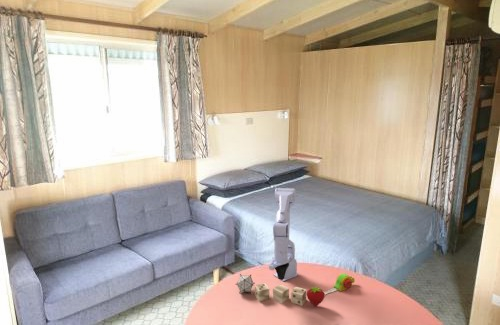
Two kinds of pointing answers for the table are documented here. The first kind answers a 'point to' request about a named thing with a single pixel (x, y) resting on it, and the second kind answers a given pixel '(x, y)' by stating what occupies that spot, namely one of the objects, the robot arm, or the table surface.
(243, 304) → the table surface
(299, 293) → the pip block
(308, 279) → the table surface
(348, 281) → the toy measuring tape
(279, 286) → the plain block
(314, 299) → the strawberry
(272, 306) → the table surface
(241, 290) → the game die
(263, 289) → the pip block
